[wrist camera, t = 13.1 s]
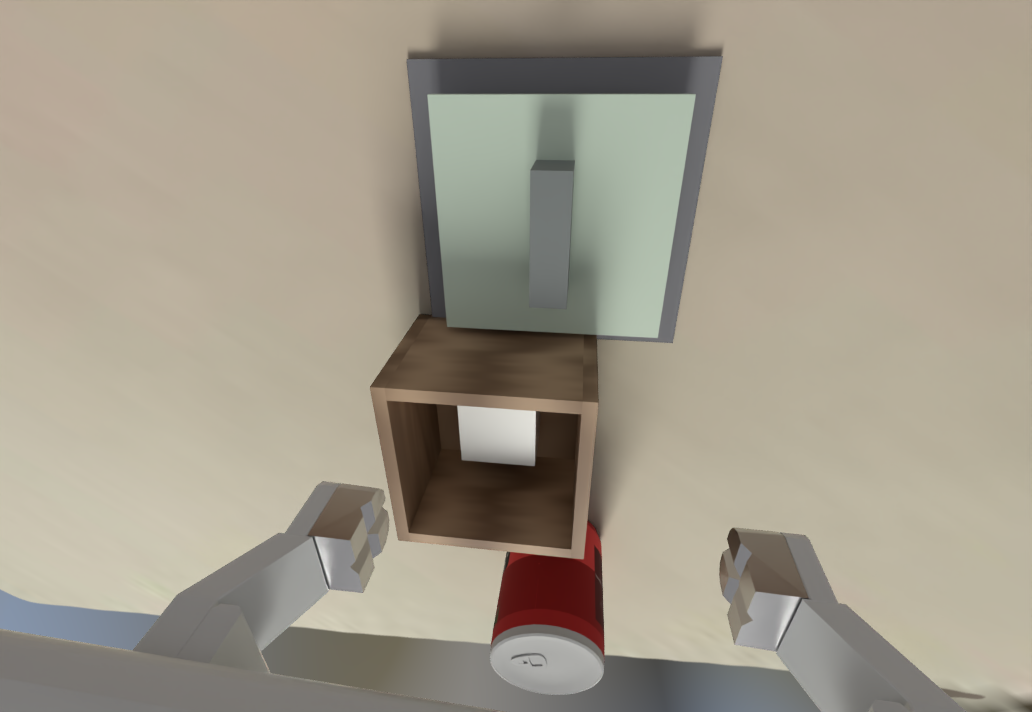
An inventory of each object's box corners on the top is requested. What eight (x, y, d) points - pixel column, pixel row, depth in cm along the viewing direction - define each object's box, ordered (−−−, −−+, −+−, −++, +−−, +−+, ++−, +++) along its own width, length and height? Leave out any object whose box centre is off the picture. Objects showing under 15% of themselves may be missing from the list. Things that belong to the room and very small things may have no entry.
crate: (596, 323, 33) (598, 402, 25) (584, 461, 39) (583, 559, 31) (419, 314, 34) (369, 387, 26) (435, 448, 40) (398, 540, 32)
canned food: (494, 520, 43) (468, 645, 34) (576, 494, 41) (573, 623, 31) (536, 573, 46) (523, 703, 37) (615, 553, 44) (623, 687, 34)
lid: (687, 92, 25) (709, 97, 21) (653, 321, 32) (664, 363, 27) (438, 92, 27) (408, 97, 22) (455, 312, 33) (434, 350, 29)
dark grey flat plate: (721, 56, 25) (722, 56, 24) (672, 340, 33) (672, 342, 32) (408, 59, 26) (406, 59, 26) (434, 328, 34) (433, 330, 34)
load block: (541, 371, 34) (536, 405, 31) (539, 428, 37) (534, 466, 33) (469, 367, 35) (456, 400, 31) (473, 423, 37) (461, 460, 34)
